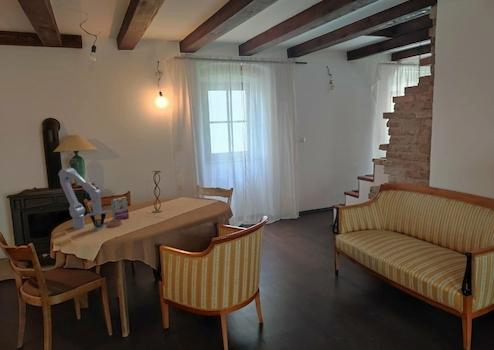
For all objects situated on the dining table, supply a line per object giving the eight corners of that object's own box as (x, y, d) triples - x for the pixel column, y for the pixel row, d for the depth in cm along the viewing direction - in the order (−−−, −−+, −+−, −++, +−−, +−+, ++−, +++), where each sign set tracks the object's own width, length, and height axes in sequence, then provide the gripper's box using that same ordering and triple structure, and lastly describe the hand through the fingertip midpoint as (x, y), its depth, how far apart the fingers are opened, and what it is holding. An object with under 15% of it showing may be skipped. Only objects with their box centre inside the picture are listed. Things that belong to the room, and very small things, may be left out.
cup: (106, 225, 268) (106, 221, 267) (119, 223, 273) (119, 218, 273) (109, 228, 260) (109, 224, 260) (123, 226, 265) (123, 221, 265)
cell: (95, 227, 261) (94, 219, 260) (101, 226, 263) (100, 218, 262) (96, 229, 258) (95, 220, 257) (102, 228, 260) (101, 219, 259)
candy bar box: (125, 217, 291) (123, 196, 289) (129, 218, 288) (127, 197, 286) (112, 220, 283) (110, 199, 281) (115, 221, 280) (113, 200, 277)
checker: (90, 228, 262) (89, 226, 262) (104, 226, 268) (104, 223, 267) (93, 232, 254) (93, 229, 253) (108, 229, 259) (107, 226, 259)
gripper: (87, 209, 251) (89, 228, 253) (108, 205, 259) (110, 224, 261) (84, 207, 257) (86, 226, 259) (106, 204, 265) (108, 222, 267)
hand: (98, 225), depth 260 cm, fingers open, 5 cm apart
